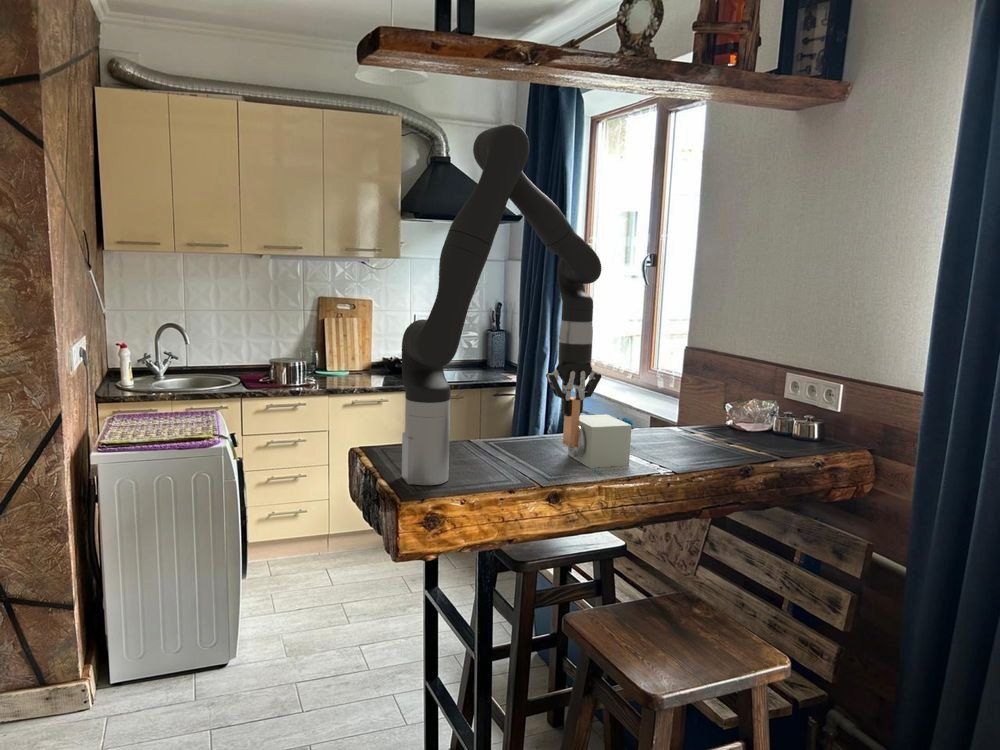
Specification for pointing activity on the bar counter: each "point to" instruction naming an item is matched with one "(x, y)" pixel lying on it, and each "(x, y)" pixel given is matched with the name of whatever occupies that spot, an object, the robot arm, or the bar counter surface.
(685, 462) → the bar counter surface
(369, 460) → the bar counter surface
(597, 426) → the block
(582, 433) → the wood and metal l-shape
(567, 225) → the robot arm
